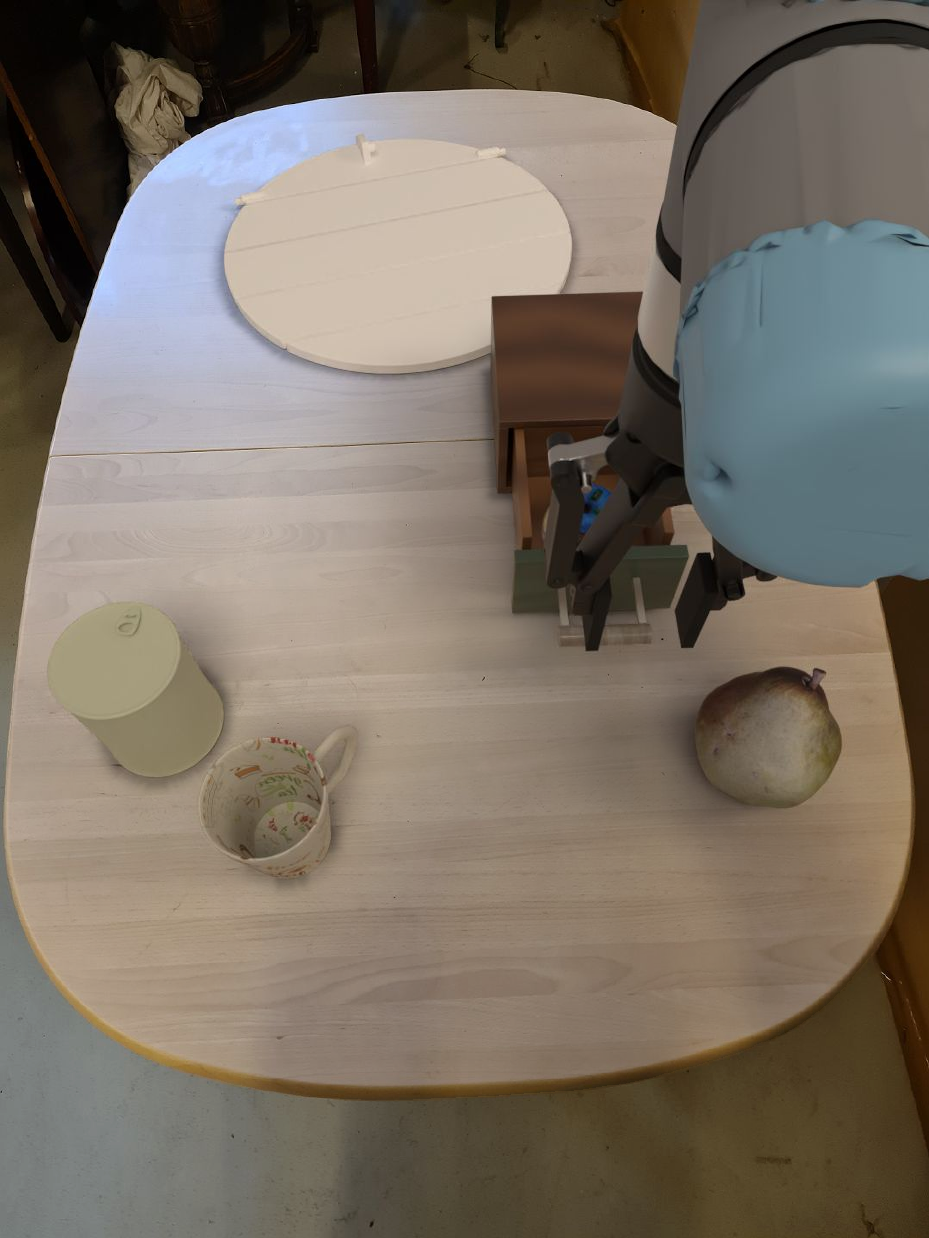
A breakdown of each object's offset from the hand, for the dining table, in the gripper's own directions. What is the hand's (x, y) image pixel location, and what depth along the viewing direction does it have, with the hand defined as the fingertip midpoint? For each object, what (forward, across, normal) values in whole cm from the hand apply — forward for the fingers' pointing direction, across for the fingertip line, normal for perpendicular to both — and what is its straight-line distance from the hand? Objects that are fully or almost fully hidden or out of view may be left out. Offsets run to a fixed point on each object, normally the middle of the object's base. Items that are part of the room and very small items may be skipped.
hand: (636, 630), depth 53 cm
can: (+17, +35, -2) cm, 39 cm away
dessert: (+15, 0, -18) cm, 24 cm away
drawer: (+16, 0, -15) cm, 22 cm away
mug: (+17, +23, +6) cm, 29 cm away
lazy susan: (+17, +17, -60) cm, 65 cm away
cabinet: (+17, 0, -32) cm, 36 cm away
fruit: (+17, -11, +3) cm, 20 cm away
